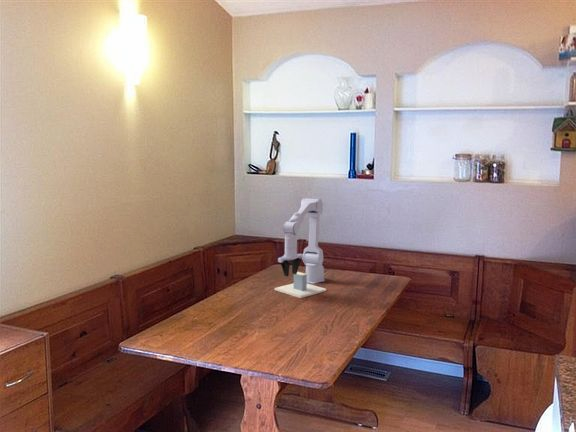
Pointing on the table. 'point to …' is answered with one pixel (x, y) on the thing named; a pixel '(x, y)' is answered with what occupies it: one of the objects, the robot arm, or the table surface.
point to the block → (300, 281)
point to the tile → (300, 294)
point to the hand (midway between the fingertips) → (290, 274)
